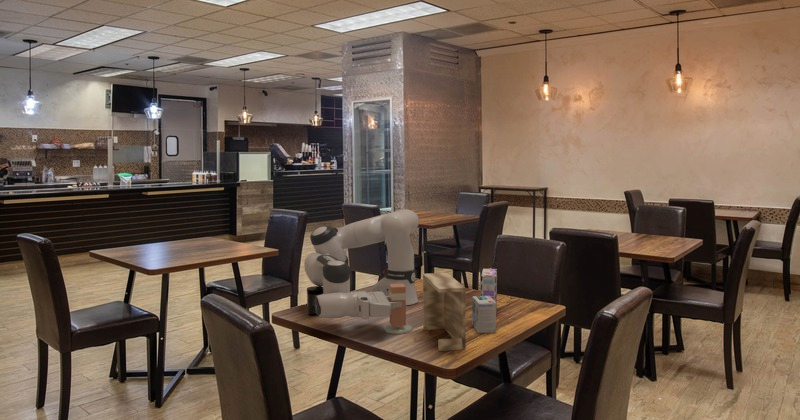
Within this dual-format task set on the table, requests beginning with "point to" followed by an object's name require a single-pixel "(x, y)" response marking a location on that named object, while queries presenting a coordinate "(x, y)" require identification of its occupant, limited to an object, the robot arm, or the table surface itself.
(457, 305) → the shelf
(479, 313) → the light bulb box
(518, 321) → the table surface
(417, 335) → the table surface
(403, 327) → the disc
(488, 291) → the candy box
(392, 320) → the carton
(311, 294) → the supplement container
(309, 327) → the table surface
